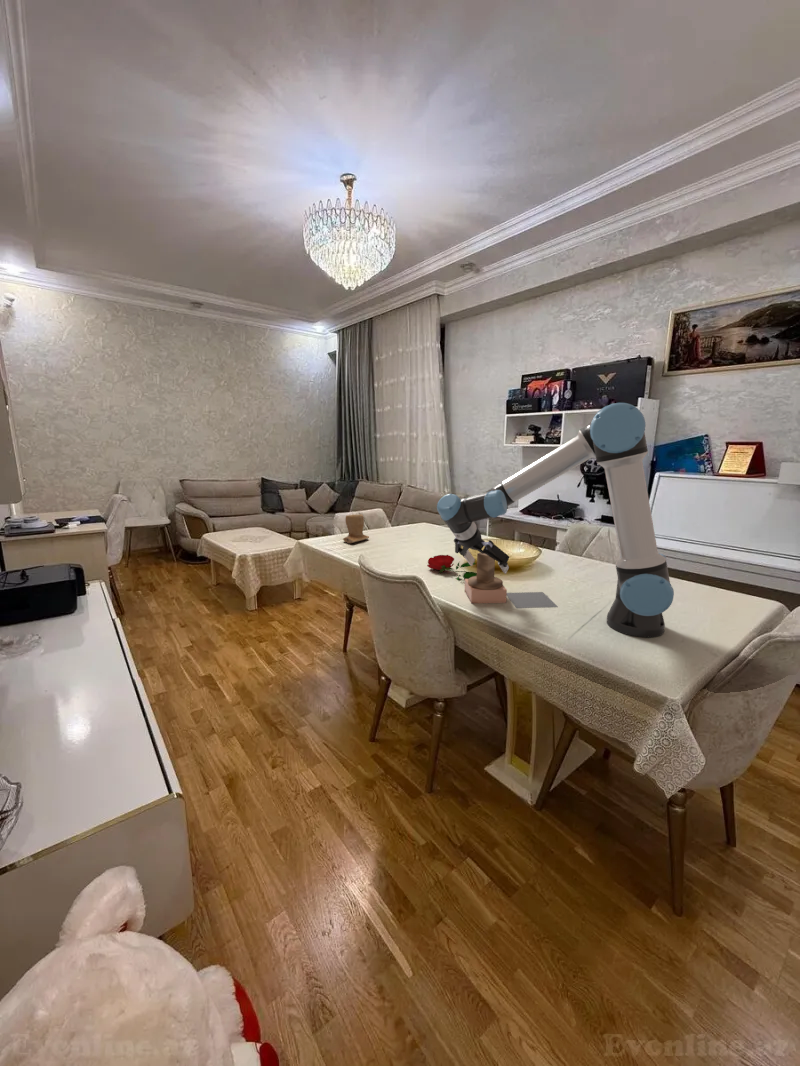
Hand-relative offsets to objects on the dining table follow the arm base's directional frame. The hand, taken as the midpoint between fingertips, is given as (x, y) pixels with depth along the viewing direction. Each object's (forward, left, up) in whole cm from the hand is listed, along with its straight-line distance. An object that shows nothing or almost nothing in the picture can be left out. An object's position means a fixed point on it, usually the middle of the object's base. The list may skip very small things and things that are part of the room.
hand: (489, 566), depth 151 cm
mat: (-6, -13, -11) cm, 18 cm away
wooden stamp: (+86, +53, -11) cm, 102 cm away
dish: (-2, +2, -11) cm, 11 cm away
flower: (+22, +7, -11) cm, 26 cm away
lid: (-2, +2, -6) cm, 6 cm away
